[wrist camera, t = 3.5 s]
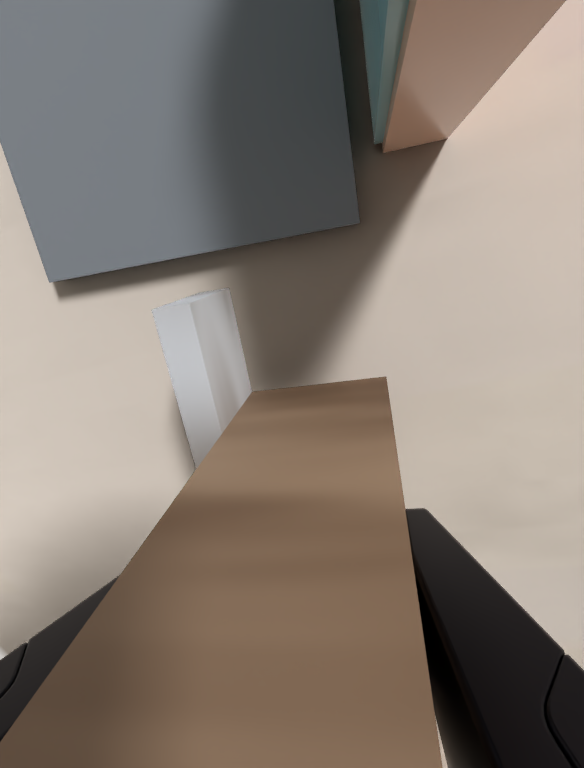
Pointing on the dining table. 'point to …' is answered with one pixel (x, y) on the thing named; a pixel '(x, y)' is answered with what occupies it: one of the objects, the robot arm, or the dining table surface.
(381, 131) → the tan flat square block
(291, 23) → the slate mat
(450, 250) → the dining table surface
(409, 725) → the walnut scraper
